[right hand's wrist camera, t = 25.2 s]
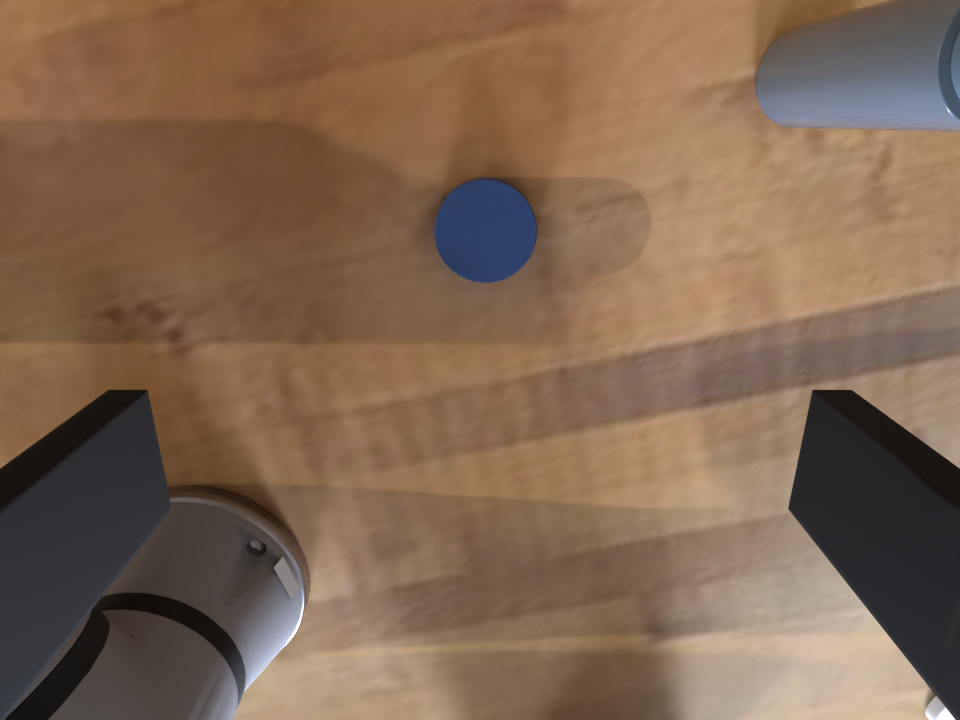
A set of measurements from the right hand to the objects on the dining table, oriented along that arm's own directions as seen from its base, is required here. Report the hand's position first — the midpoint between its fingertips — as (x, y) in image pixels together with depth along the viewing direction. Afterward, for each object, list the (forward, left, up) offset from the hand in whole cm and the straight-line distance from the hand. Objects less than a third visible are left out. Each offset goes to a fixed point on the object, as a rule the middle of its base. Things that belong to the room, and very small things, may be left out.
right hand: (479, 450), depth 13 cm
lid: (0, 0, -26) cm, 26 cm away
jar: (+10, -17, -27) cm, 33 cm away
